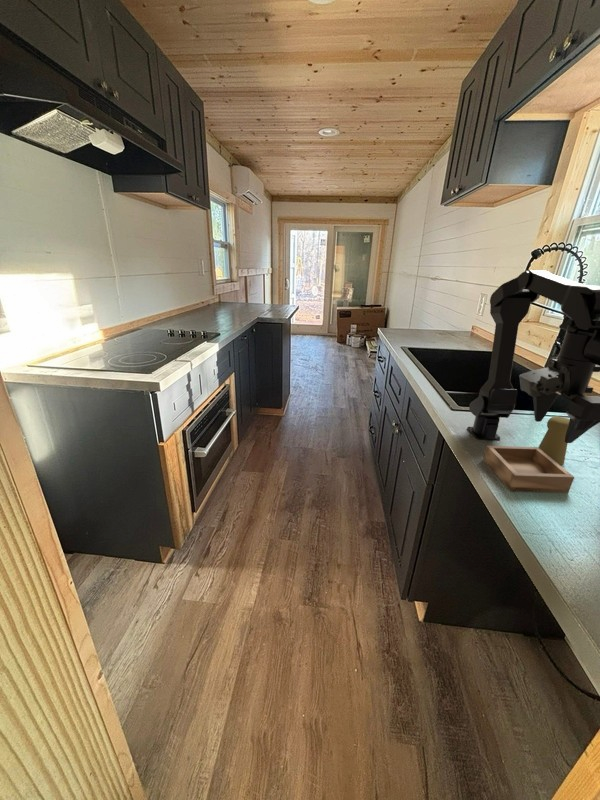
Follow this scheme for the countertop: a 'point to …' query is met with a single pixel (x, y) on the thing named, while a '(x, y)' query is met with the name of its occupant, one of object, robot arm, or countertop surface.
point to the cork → (555, 439)
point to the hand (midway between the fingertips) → (551, 431)
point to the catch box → (527, 469)
